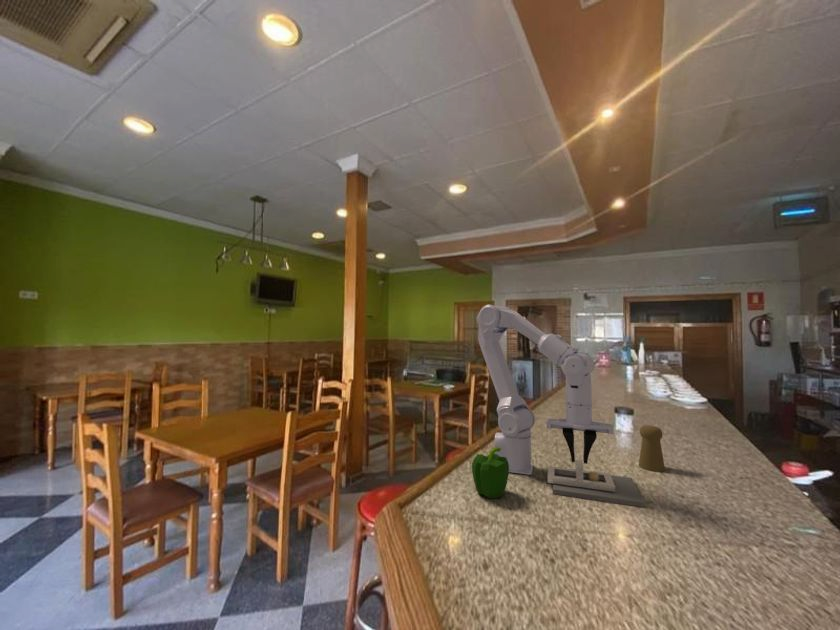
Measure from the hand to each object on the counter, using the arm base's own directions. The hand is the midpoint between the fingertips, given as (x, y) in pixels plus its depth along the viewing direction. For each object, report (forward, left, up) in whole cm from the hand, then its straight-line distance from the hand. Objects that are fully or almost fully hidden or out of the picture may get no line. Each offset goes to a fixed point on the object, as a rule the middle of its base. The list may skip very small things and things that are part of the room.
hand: (579, 461), depth 87 cm
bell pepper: (-19, -12, -6) cm, 23 cm away
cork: (+19, +20, -6) cm, 28 cm away
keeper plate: (+3, 0, -6) cm, 6 cm away
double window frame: (0, 0, -4) cm, 4 cm away
